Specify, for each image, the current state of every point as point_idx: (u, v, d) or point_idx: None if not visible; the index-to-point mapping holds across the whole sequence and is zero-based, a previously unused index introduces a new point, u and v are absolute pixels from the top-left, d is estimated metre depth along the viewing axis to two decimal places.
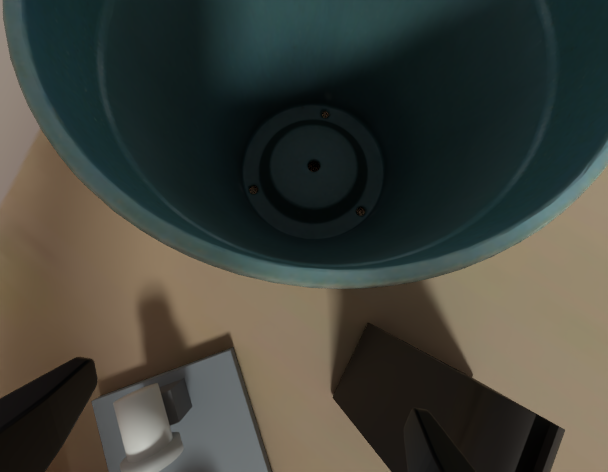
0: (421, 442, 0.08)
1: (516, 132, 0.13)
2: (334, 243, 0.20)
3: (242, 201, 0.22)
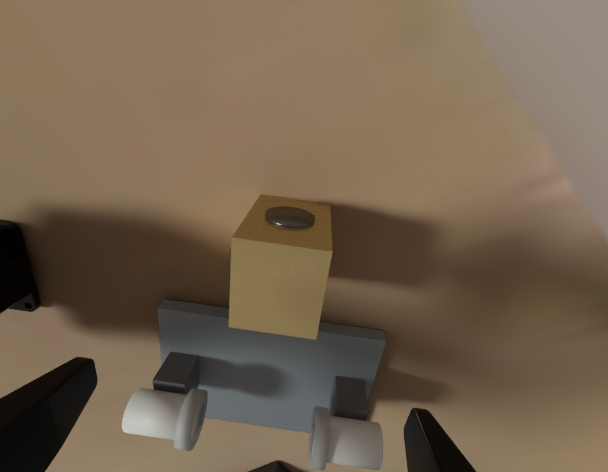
0: (421, 442, 0.08)
1: None
2: None
3: None
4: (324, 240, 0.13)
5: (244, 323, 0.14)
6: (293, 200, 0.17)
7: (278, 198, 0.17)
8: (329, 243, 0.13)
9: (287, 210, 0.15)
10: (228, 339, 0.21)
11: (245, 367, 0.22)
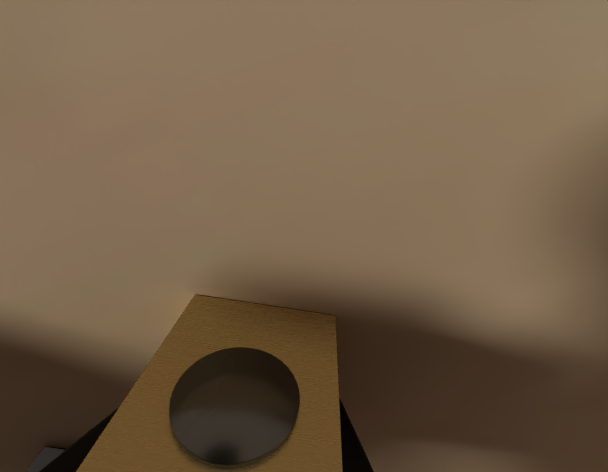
0: None
1: None
2: None
3: None
4: None
5: None
6: (260, 310, 0.08)
7: (229, 306, 0.08)
8: None
9: (235, 369, 0.06)
10: None
11: None
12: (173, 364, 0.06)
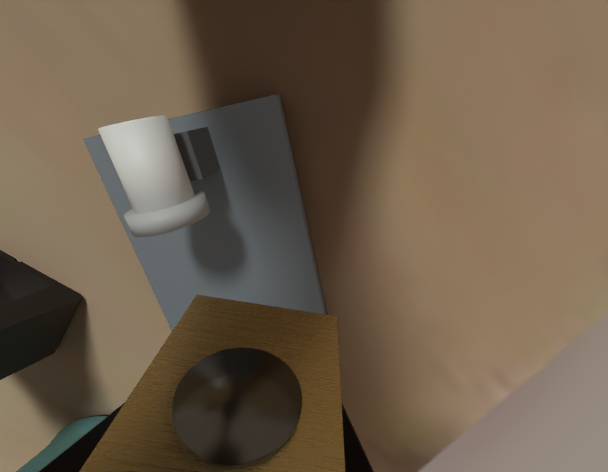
0: None
1: None
2: None
3: None
4: None
5: None
6: (261, 310, 0.08)
7: (231, 306, 0.08)
8: None
9: (237, 369, 0.06)
10: (265, 200, 0.16)
11: (230, 229, 0.17)
12: (175, 364, 0.06)
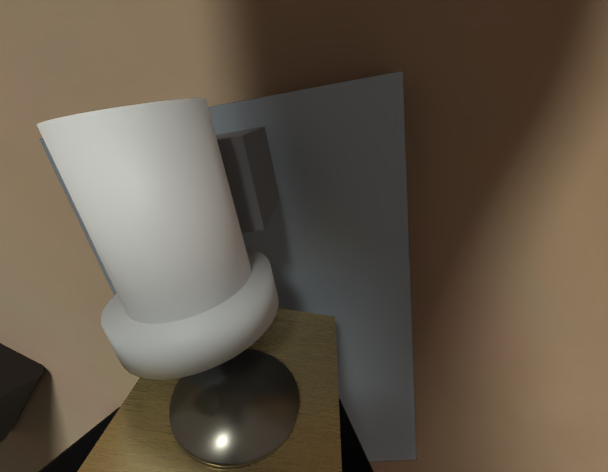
0: None
1: None
2: None
3: None
4: None
5: None
6: None
7: None
8: None
9: (234, 370, 0.06)
10: (350, 254, 0.10)
11: (285, 295, 0.10)
12: None
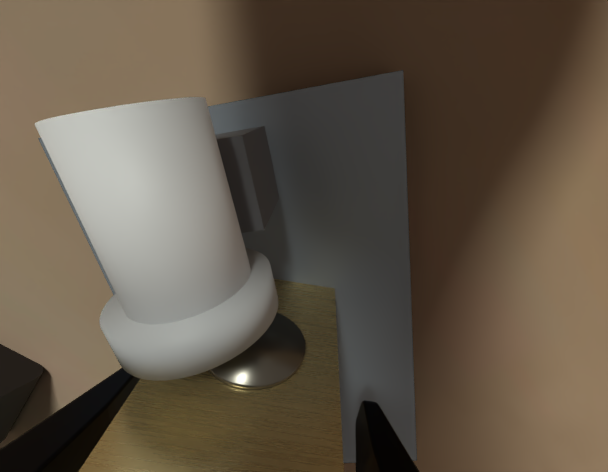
0: (366, 434, 0.08)
1: None
2: None
3: None
4: (324, 446, 0.05)
5: None
6: None
7: None
8: (336, 461, 0.05)
9: None
10: (350, 254, 0.09)
11: None
12: None
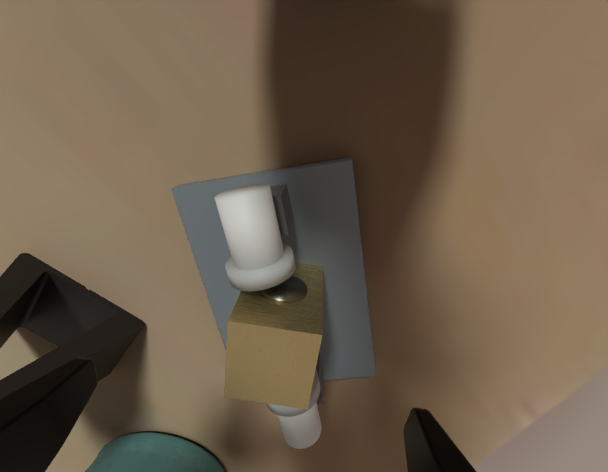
0: (421, 442, 0.08)
1: None
2: None
3: None
4: (315, 319, 0.14)
5: (239, 394, 0.15)
6: None
7: None
8: (319, 323, 0.14)
9: None
10: (330, 247, 0.18)
11: None
12: None
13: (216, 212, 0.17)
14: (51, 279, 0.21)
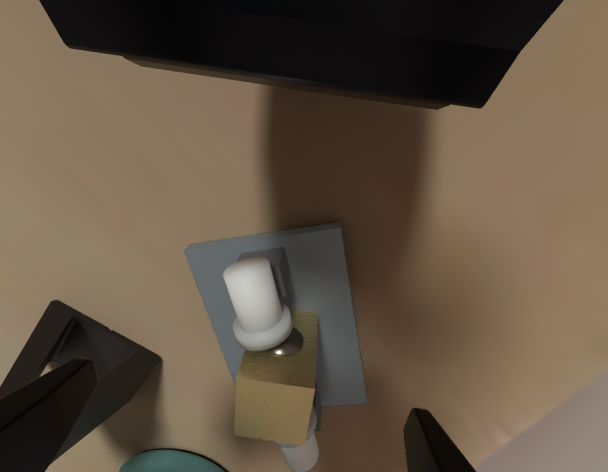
0: (421, 442, 0.08)
1: None
2: None
3: None
4: (309, 372, 0.16)
5: (246, 433, 0.17)
6: None
7: None
8: (313, 376, 0.16)
9: None
10: (324, 297, 0.20)
11: None
12: None
13: (223, 269, 0.20)
14: (78, 322, 0.23)
